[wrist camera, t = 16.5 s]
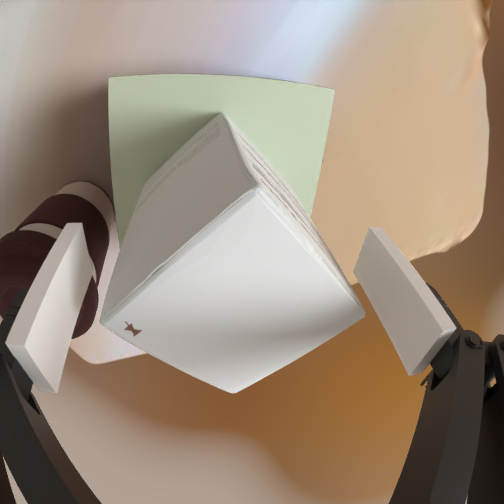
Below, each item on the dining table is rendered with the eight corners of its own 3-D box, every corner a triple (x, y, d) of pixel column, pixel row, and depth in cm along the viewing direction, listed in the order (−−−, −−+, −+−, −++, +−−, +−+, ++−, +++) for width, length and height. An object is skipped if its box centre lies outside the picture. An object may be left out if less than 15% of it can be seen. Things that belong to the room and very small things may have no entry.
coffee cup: (41, 234, 30) (-16, 331, 18) (52, 156, 25) (-32, 236, 13) (115, 260, 33) (85, 369, 21) (138, 184, 29) (98, 284, 17)
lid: (112, 76, 16) (108, 77, 15) (330, 88, 18) (335, 89, 18) (125, 262, 24) (123, 268, 23) (296, 262, 27) (298, 268, 26)
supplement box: (214, 247, 24) (230, 399, 13) (142, 182, 20) (89, 325, 9) (293, 186, 22) (372, 319, 11) (224, 107, 18) (256, 181, 7)
